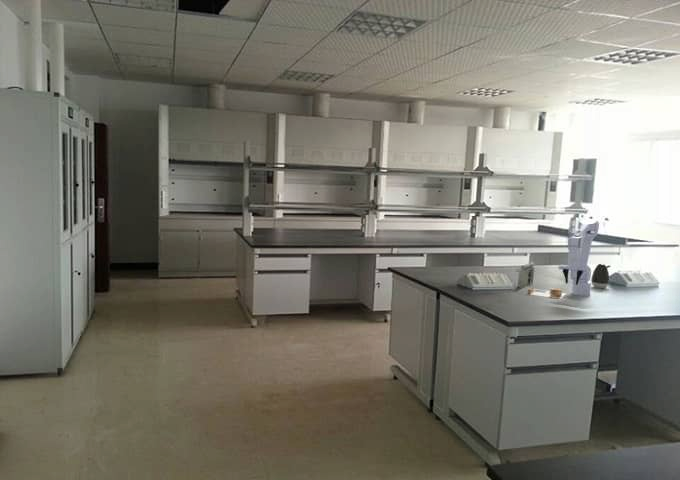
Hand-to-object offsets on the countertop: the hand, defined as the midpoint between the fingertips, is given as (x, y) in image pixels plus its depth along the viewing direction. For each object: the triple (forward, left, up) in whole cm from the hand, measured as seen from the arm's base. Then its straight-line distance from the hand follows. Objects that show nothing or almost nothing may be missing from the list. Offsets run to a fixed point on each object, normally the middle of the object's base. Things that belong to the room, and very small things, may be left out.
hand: (571, 283), depth 287 cm
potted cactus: (-9, -55, -10) cm, 57 cm away
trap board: (+13, -4, -9) cm, 17 cm away
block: (+8, 0, -8) cm, 11 cm away
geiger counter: (+30, -30, -10) cm, 44 cm away
